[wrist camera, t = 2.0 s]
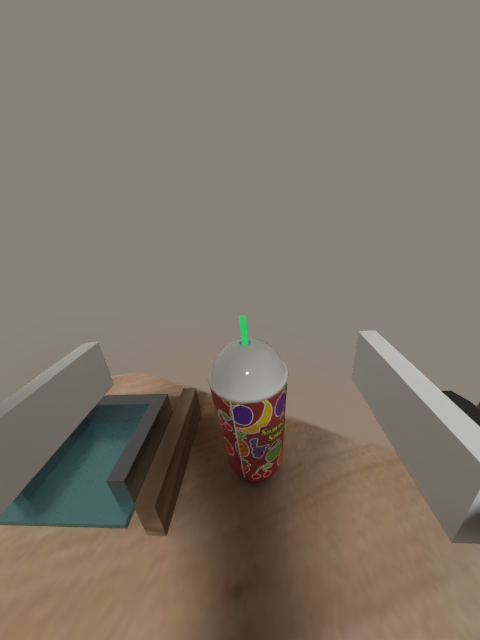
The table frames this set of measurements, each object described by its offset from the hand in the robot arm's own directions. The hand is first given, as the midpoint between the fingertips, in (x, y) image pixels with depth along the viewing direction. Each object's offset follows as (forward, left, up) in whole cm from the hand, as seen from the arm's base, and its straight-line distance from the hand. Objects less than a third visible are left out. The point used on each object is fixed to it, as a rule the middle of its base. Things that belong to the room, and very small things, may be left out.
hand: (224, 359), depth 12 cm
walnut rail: (+10, -10, -22) cm, 26 cm away
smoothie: (0, -10, -22) cm, 24 cm away
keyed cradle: (+21, -10, -22) cm, 32 cm away
